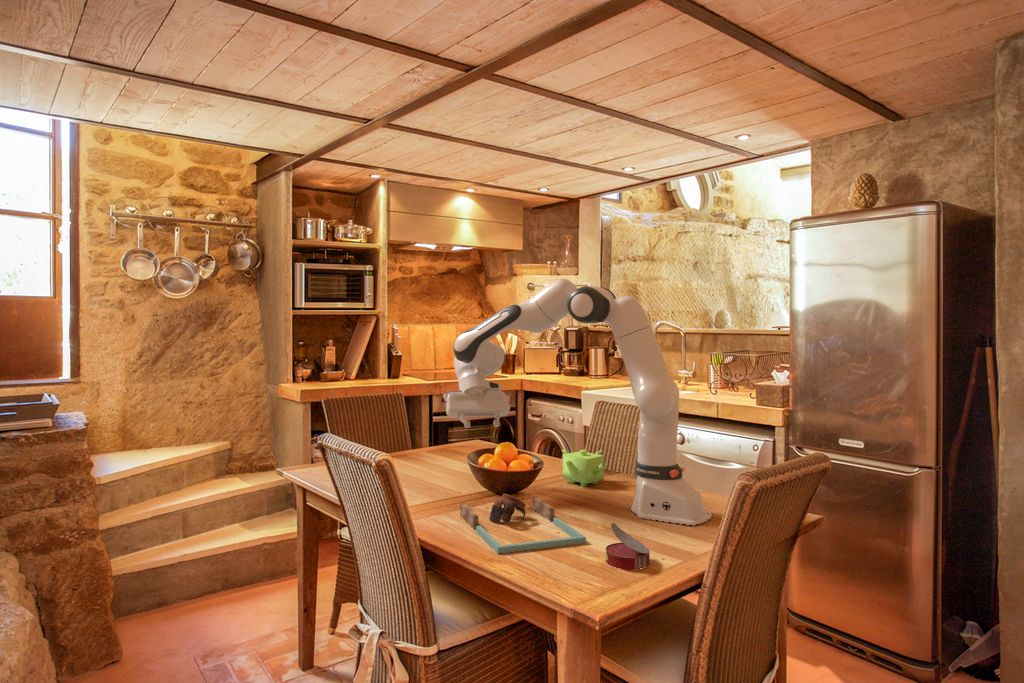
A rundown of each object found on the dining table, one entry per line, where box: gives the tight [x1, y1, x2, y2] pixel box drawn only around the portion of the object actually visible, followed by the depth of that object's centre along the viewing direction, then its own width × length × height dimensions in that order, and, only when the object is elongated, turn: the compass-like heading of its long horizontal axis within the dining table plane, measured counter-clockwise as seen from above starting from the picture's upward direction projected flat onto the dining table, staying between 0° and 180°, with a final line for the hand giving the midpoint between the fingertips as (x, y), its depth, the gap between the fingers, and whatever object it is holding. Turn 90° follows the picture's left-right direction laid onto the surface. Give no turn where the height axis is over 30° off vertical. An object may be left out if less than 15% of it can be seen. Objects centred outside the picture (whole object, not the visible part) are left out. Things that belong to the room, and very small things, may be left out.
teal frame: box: [475, 517, 587, 555], centre depth 166 cm, size 17×23×2 cm
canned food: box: [605, 522, 651, 570], centre depth 150 cm, size 11×10×10 cm
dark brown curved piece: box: [489, 492, 527, 524], centre depth 180 cm, size 12×10×8 cm
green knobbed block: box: [561, 449, 608, 488], centre depth 223 cm, size 15×14×11 cm
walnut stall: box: [459, 496, 555, 530], centre depth 182 cm, size 13×23×4 cm, turn 110°
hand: (482, 426), depth 202 cm, fingers open, 8 cm apart
